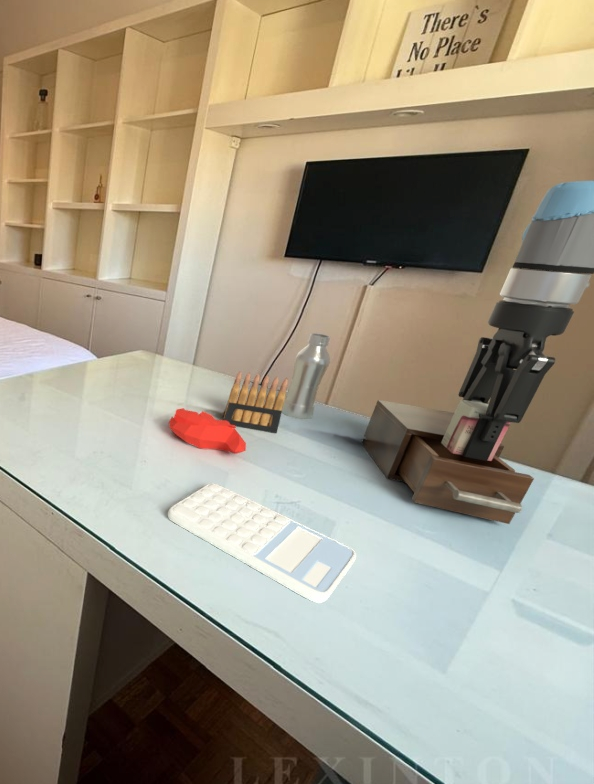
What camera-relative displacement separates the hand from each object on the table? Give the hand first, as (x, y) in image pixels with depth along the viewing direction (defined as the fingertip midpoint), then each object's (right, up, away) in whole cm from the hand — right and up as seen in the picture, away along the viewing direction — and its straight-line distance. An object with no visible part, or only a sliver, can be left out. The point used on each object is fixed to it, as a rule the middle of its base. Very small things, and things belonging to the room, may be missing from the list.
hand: (466, 450), depth 72 cm
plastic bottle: (-7, +3, +32) cm, 33 cm away
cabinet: (+4, -5, +14) cm, 15 cm away
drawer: (-1, -8, +2) cm, 8 cm away
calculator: (-39, -11, -10) cm, 42 cm away
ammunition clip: (-20, +2, +27) cm, 34 cm away
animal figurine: (-33, -1, +17) cm, 37 cm away
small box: (0, 0, 0) cm, 0 cm away
